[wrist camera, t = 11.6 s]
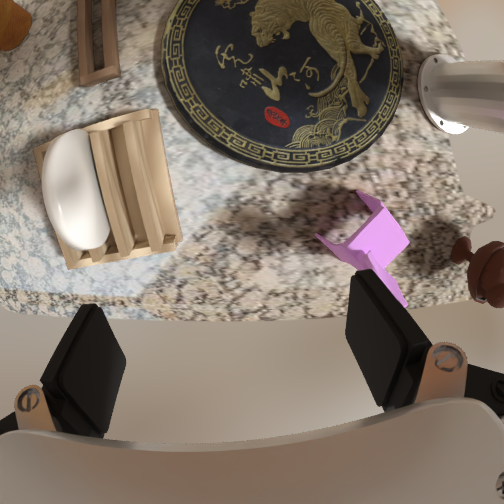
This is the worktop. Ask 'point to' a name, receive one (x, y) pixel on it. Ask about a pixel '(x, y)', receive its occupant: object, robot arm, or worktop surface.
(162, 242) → the dish rack
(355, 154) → the decorative plate
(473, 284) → the ice cream bowl
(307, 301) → the worktop surface
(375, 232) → the toy chair
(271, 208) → the worktop surface
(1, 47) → the disposable coffee cup
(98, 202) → the side plate
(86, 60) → the plate stand
